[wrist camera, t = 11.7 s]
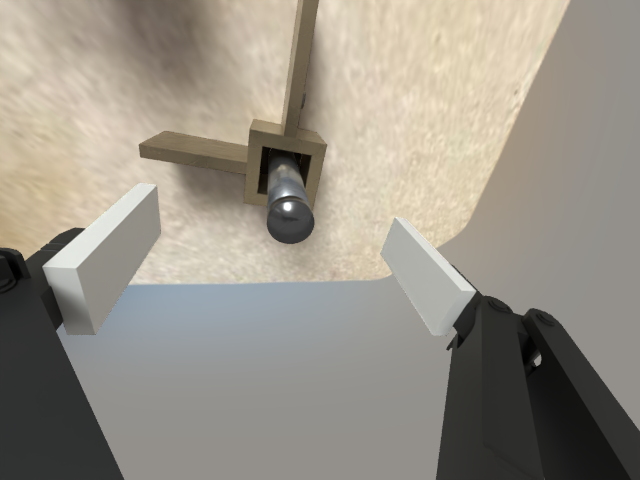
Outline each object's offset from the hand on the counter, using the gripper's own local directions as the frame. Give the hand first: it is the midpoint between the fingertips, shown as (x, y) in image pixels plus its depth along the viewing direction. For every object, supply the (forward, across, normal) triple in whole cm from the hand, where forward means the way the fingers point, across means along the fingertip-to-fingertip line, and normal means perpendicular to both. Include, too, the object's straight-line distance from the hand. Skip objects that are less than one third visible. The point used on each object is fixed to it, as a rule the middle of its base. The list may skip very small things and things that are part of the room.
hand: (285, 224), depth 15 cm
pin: (+16, +1, 0) cm, 16 cm away
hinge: (+16, -3, +5) cm, 17 cm away
